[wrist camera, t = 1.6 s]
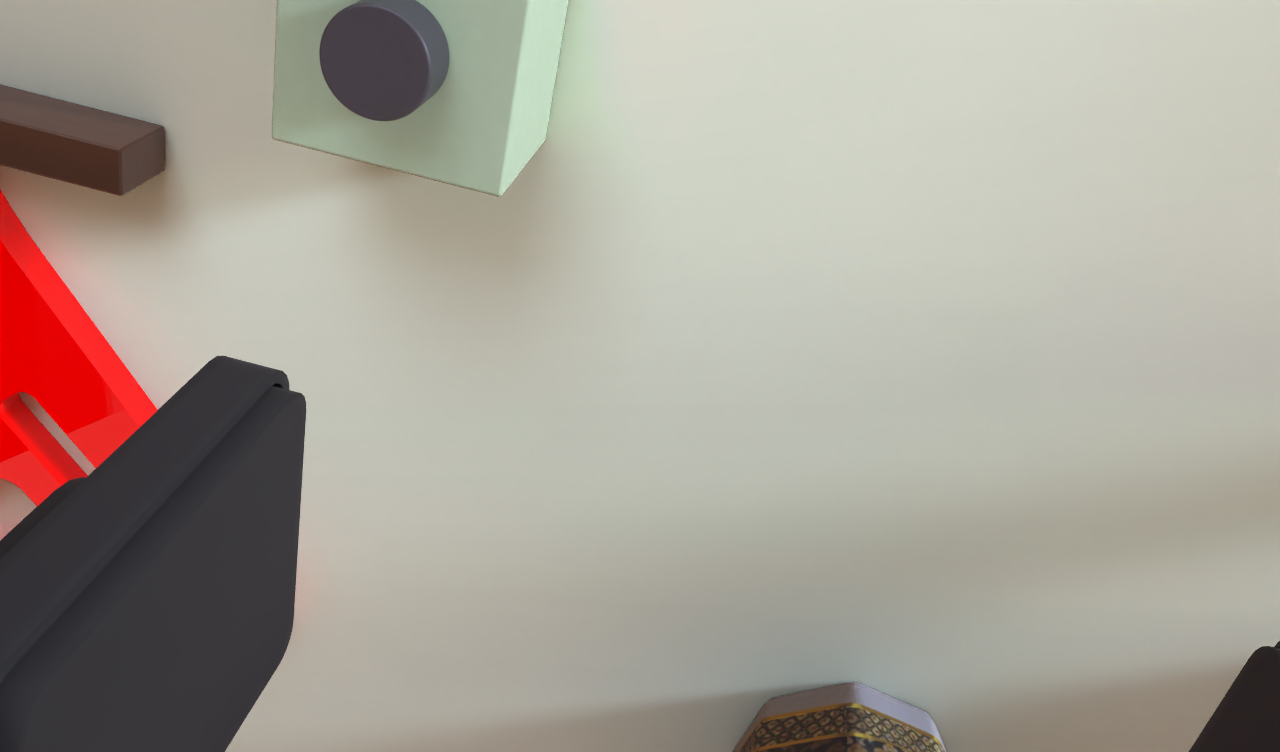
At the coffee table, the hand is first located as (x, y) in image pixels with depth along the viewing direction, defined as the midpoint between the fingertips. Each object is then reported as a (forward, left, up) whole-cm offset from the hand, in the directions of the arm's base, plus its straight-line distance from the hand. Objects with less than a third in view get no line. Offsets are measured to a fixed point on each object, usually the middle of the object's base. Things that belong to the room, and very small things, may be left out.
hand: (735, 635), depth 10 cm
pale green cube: (0, -8, -18) cm, 20 cm away
